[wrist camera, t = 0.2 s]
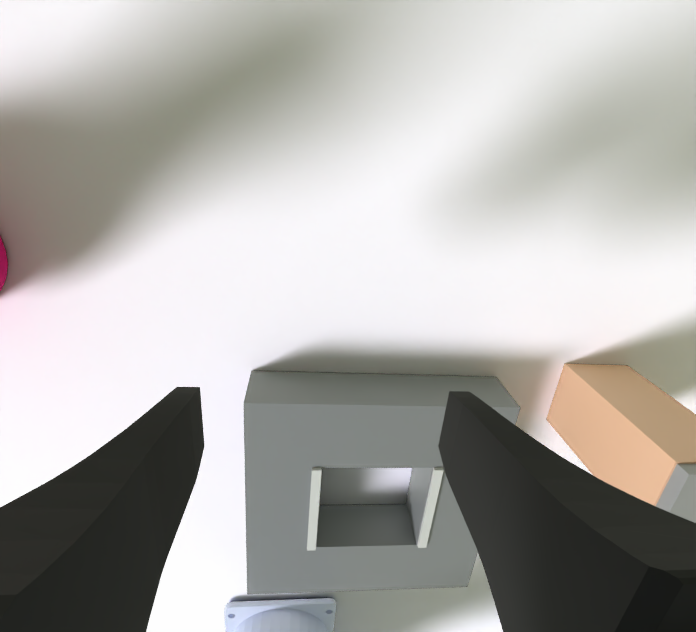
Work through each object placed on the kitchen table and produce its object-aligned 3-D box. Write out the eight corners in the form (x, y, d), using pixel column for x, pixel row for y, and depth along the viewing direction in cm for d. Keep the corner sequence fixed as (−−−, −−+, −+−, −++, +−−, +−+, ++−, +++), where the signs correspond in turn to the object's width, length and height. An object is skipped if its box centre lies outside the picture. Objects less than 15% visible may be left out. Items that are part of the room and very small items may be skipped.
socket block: (452, 544, 30) (468, 589, 27) (253, 549, 28) (246, 597, 25) (496, 376, 24) (522, 410, 21) (251, 370, 23) (243, 405, 20)
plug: (605, 420, 26) (732, 541, 18) (546, 419, 26) (650, 543, 18) (627, 365, 25) (776, 472, 17) (564, 363, 24) (688, 472, 16)
